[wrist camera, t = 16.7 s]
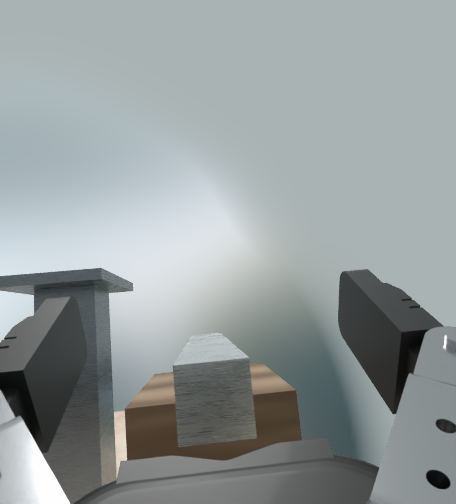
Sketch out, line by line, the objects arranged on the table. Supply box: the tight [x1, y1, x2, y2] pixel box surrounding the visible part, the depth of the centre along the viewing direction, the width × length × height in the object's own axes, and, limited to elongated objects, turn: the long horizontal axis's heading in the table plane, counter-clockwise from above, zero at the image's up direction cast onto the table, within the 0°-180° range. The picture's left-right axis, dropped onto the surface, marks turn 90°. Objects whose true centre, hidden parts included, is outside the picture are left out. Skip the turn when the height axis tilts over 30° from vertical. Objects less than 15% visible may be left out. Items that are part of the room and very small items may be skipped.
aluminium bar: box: [173, 333, 257, 447], centre depth 28 cm, size 26×3×3 cm, turn 3°
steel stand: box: [0, 268, 133, 504], centre depth 41 cm, size 16×10×32 cm, turn 3°
